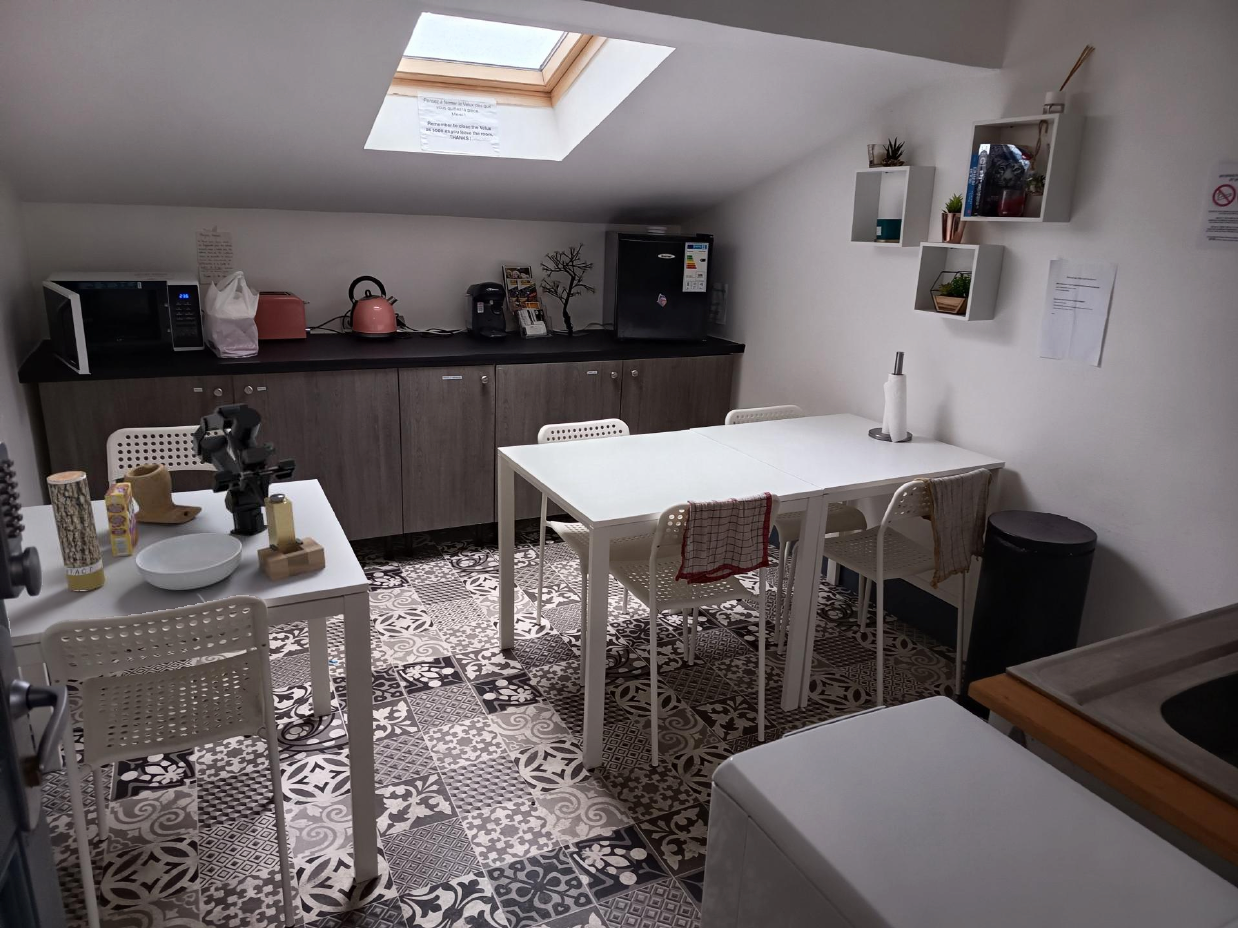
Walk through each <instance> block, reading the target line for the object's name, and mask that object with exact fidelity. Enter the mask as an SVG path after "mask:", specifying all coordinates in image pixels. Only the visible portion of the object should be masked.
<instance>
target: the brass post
mask: <svg viewBox="0 0 1238 928" xmlns="http://www.w3.org/2000/svg"><path fill="white" fill-rule="evenodd" d="M264 502H265V507H264V510H265V517H266V525H267V528H266V529H267V535H268V543H269V545H271V544H274V545H276V546H277V547H278V548H279V551H280V552H281V553H283V554H284V555H286V554H290V553H294V552H297V548H296V531H295V529H296V528H295V521H294V511H293V502H292V501H291V500H290V499H289V498H287V497H286V494H285V493H273V494H271V495H269V497H268V498H264ZM269 545H268V546H269Z"/></svg>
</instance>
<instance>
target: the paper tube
mask: <svg viewBox="0 0 1238 928" xmlns="http://www.w3.org/2000/svg"><path fill="white" fill-rule="evenodd" d="M46 481H47V487H48V492H49V497H50V502H51V503H50V504H51V506H52V507H51V508H52V511H53V517H54V522H55V527H56V531H57V532H56V533H57V537H58V541H59V546H60V552H61V556H62V560H63V561H62V562H63V566H64V571H65V574H66V575H65V576H66V581H67V587H68V588H69V590H70V591H72V590H79V591H80V590H90V591H92V590H91V589H93V590H96V589H98V588H100V587H102V586H103V585H104V584H105V582H106V577H105V571H104V567H103V560H102V554H101V548H100V544H99V537H98V532H97V527H96V522H95V518H94V512H93V507H92V506H93V505H92V501H91V495H90V489H89V484H88V483H89V482H88V479H87V475H86V472H85V471H81V470H80V471H78V470H71V471H64V472H58V473H55V474H51V475H50V476H48V477H47V478H46ZM101 585H102V586H101ZM97 587H98V588H97ZM95 588H96V589H95Z"/></svg>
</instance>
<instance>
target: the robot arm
mask: <svg viewBox="0 0 1238 928" xmlns="http://www.w3.org/2000/svg"><path fill="white" fill-rule="evenodd" d="M261 422H262V415H261V414H260V413H259V411H258V410H257V409H254V408H253V407H252V408H251V407H249V406H248V403H243V402H242V403H234V404H228V405H220V406H217V407H216V408H215V409H214V410H213V413H212V414H209V415H204V416H202V417H201V418H200V425H199V426H198V428H197V429H196V430H195V431H194V433H193V437H192V448H193V452H194V455H195V457H198V459H199V460H200V461H201V462H203V463H205V464H210V465H211V464H212V466H213V467H214V468H215V470H216V471H215V472H214V473H213V474H212V477H211V481H210V486H211V490H212V493H213V494H219V493H223V492H226V494H225V497H224V505H225V509H226V510H227V511H229V513H231V514H232V519H233V528H232V529H231V530H230V531H229V533H230V534H235V535H241V536H247V537H252V536H254V535H257V534H258V533H260V532H262V531H265V529H268V528H267V524H265V519H264V513H263V512H262V511H263V510H262V508H263V507H264V508H265V502H264V498H268V497H270V495H269V492H270V491H269V489H270V486H271V485H272V484H273V481H274V478H275V479H276V480H278V481H284V480H289V479H293V478H294V477H295V474H296V473H297V472H296V471H297V469H298V464H297V461H296V460H295V459H293V458H292V457H291V458H286V459H281V460H277V461H276V464H275V466H272V467H266V466H268V464H269V462H268V460H270V459H271V458H270V457H275V456H276V455H277V449H276V447H275V444H274V442H273V441H270V442H265V443H263V445H262V446H260V445H258V443H257V441H256V439H255V437H256V436H257V434H258V431H259V428H260V426H261ZM219 430H221V431H222V432H223V433H222V434H216V435H210V436H206V435H207V434H208V432H213V431H219ZM228 430H229V431H228ZM230 451H231V453H232V455H233V456H232V455H231V454H230Z"/></svg>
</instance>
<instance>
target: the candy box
mask: <svg viewBox="0 0 1238 928" xmlns="http://www.w3.org/2000/svg"><path fill="white" fill-rule="evenodd" d="M104 502H105V508H106V516H107V523H108V529H109V536H110V543H111V544H110V545H111V551H112V556H113V557H114V556H116V557H126V556H132V555H133V553H134V551H135V549H136V547H137V544H138V543H139V535H138V534H139V533H138V527H137V521H136V519H135V513H136V512H135V508H134V499H133V497H132V492H131V484H130V483H124V482H118V483H112V484H111V485H110V487H109V488H108V490H107V491H106V493H105V495H104Z"/></svg>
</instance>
